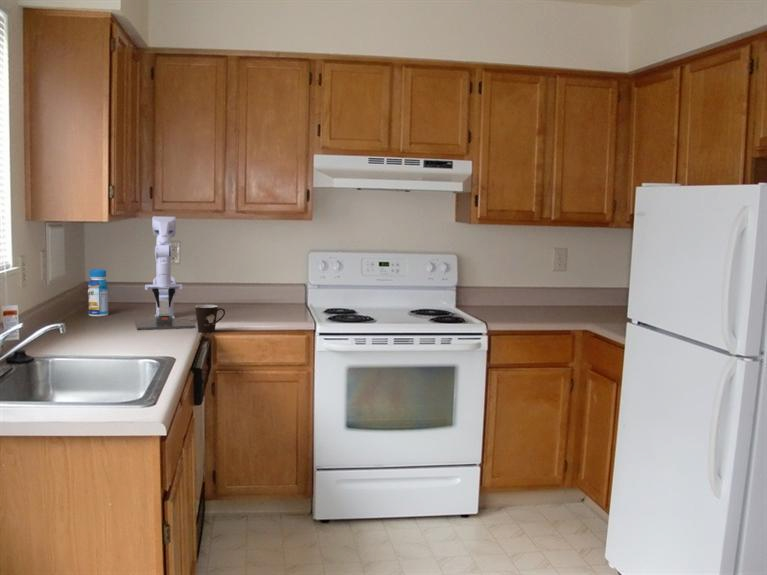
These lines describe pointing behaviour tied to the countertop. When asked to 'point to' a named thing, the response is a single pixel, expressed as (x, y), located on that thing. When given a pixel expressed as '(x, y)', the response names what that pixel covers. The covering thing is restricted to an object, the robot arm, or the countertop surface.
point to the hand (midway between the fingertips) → (163, 307)
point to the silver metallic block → (164, 308)
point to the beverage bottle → (98, 293)
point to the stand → (163, 323)
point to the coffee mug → (207, 317)
